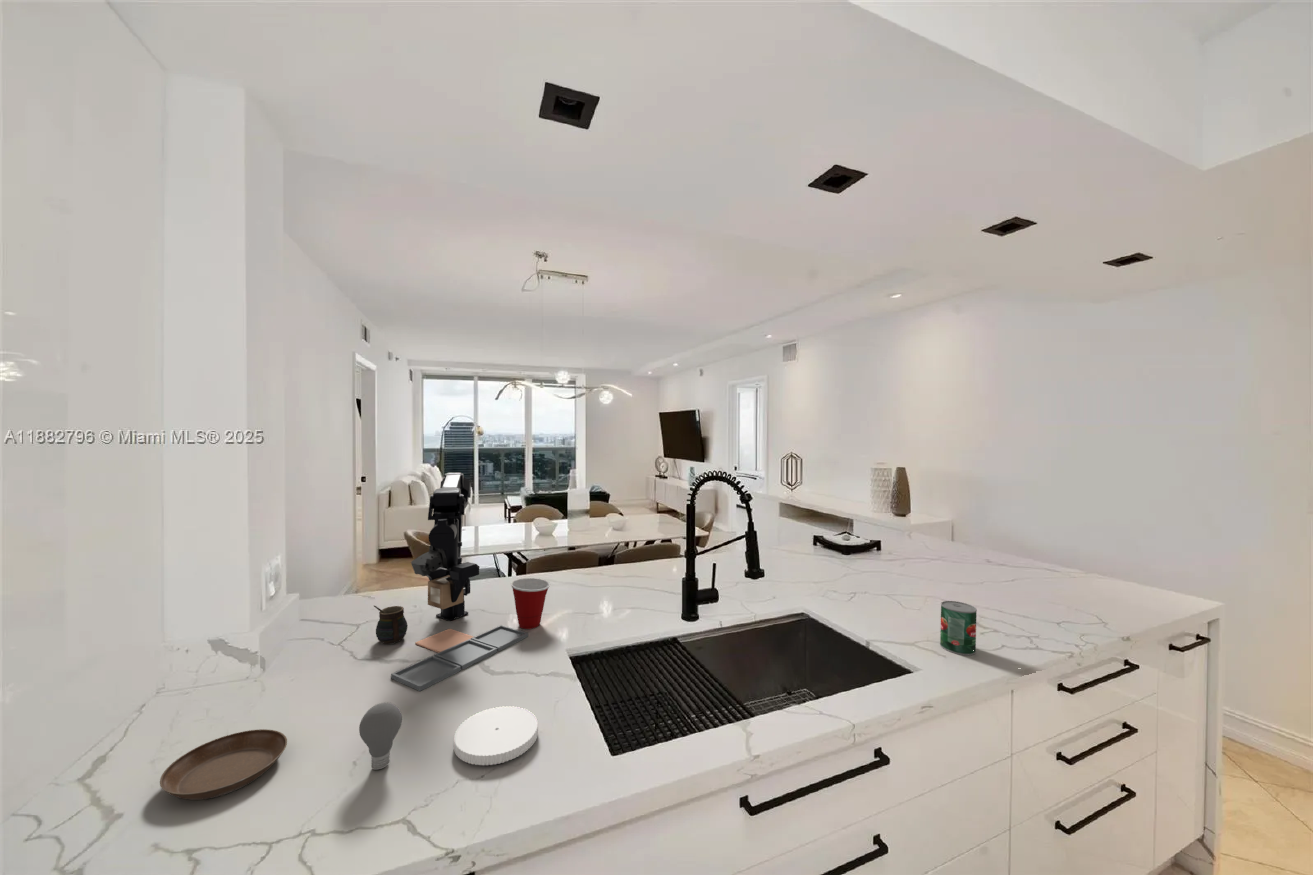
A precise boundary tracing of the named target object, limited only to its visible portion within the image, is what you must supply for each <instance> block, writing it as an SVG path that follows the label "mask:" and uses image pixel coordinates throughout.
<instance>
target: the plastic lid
mask: <svg viewBox="0 0 1313 875" xmlns="http://www.w3.org/2000/svg"><path fill="white" fill-rule="evenodd" d="M538 735H539V721H538V718H537V716H536V715H535V714H534V713H533V712H532V711H530V710H529V709H527V708H525V707H523V708H522V707H519V706H516V705H515V706H513V705H510V706H509V705H504V706H497V707H491V708H487V709H484V710H481V711H479V712H477V713H474V714H473V715H471V716H470V717H467V718H465V720H463V721H462V722H461V723H460V724H459V726H457V728H456V730H455V732H454V735H453V751H454V754H455V755H456V757H458V758H459V759H460V761H463V762H465V763H468V764H469V765H470V764H471V765H475V766H489V765H490V766H493V765H497V764H501V763H502V764H503V763H505V762H509V761H512V760H513V759H516V758H517V757H520V756H522V755H523V754H525V753H526V752H527V751H528V750H529V749H531V747H532V746H533V745H534V744H535V742H536V740H537V738H538Z"/></svg>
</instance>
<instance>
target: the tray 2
mask: <svg viewBox="0 0 1313 875" xmlns="http://www.w3.org/2000/svg"><path fill="white" fill-rule="evenodd" d="M497 652H498V651H497V648H494V647H491V646H488V645H486V644H483V643H480V642H477V641H474V640H471V639H468V640H466V641H464V642H461V643H459V644H457V645H455V646H452V647H450V648H448V649H446V650H443V651H441V652H439V653H438V652H436V653H434V655H433V656H435V657H438V658H440V659H443V660H445V661H448V662H451V663H453V664H456V665H458V666H461V671H463V670H465V669H467V668H468V667H470V666H472V665H475V664H477V663H478V662H481V661H483V660H485V659H487V658H489V657H491V656H493V655H495V654H497Z"/></svg>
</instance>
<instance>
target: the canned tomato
mask: <svg viewBox="0 0 1313 875" xmlns="http://www.w3.org/2000/svg"><path fill="white" fill-rule="evenodd" d="M977 612H978V610H977V607H975V606H974V605H971V604H969V603H966V602H965V603H964V602H961V601H957V600H956V601H955V600H944V601H941V603H940V631H939V632H940V637H939V640H940V641H939V645H940V647H941V648H942V649H944V650H945V651H947V652H950V653H953V654H956V655H960V656H973V655H975V654H976V653H977V651H976V649H977V644H976V643H977ZM973 650H974V651H973Z"/></svg>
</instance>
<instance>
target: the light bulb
mask: <svg viewBox="0 0 1313 875" xmlns="http://www.w3.org/2000/svg"><path fill="white" fill-rule="evenodd" d="M402 722H403V715H402V712H401V709H400V708H399V707H398V706H397V705H396V704H394V703H391V702H386V701H385V702H381V703H377V704H375V705H373V706H371V707H370V708H369V709H368V710H367V711H366V712H365V714H364V715H363V716H362V718H361V720H360V722H359V726H358V727H359V728H358V730H359V732H358V733H359V736H360V738H361V740H362V741H363V743H364V744H365V746H367V748H368V754H369V755H370V756H371V763H370V764H371V765H370V766H371V767H370V768H371V769H373V770H381V769H384V768H385V767H387V766H388V765H389V764H390V762H391V760H390V758H391V749H392V748H393V742H394V740H395V738H396V736H397V735H398V733H399V731H400V729H401V726H402Z"/></svg>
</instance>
